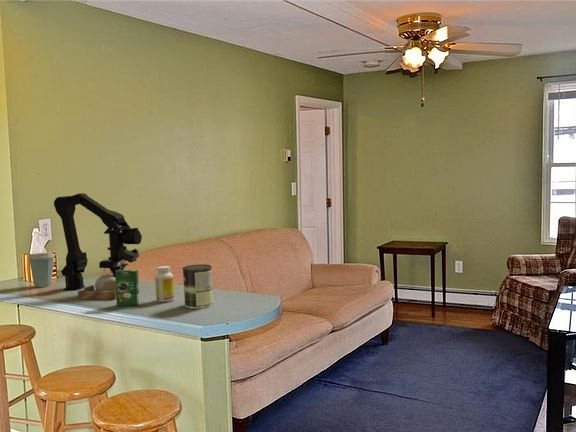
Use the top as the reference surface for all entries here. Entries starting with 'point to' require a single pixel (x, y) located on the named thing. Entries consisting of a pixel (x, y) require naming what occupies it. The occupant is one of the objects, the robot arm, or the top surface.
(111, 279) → the ceramic mug
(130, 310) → the top surface
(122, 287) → the coffee box
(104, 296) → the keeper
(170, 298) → the supplement bottle
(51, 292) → the top surface
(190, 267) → the coffee can
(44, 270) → the disposable coffee cup
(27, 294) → the top surface
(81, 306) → the top surface
